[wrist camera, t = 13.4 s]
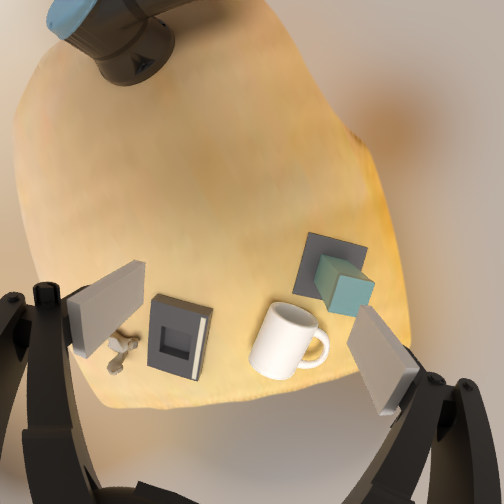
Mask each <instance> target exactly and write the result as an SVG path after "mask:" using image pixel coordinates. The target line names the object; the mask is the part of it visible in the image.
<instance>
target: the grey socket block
mask: <svg viewBox="0 0 504 504" xmlns="http://www.w3.org/2000/svg"><path fill="white" fill-rule="evenodd" d="M212 312H213V309H211V308H207V307H204V306H200V305H196V304H192V303H189V302H185V301H182V300H178V299H174V298H171V297H168V296H164V295H161V294H157V295H156V296H155V297H154V298H153V299H152V300H151V309H150V322H149V337H148V359H147V366H150V367H153V368H156V369H159V370H162V371H165V372H168V373H171V374H174V375H177V376H181V377H184V378H187V379H191V380H194V381H198V380H199V377H200V375H201V372H202V367H203V361H204V355H205V350H206V344H207V338H208V333H209V328H210V322H211V317H212Z"/></svg>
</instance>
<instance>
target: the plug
mask: <svg viewBox="0 0 504 504" xmlns="http://www.w3.org/2000/svg"><path fill="white" fill-rule="evenodd" d="M314 283H315V285H316V287H317V289H318V291H319V293H320V295H321V297H322V299H323V301H324V303H325V305H326V307H327V310H328V312H332V313H337V314H342V315H347V316H352V317H357V314H358V311H359V308H360V305H368V302H369V299H370V297H371V294H372V291H373V288H374V285H375V282H373V281H372V280H370V279H369V278H368V277H367V276H366V275H364V274H363V273H362V272H361V271H360V270H358V269H357V268H356V267H355V266H354V265H353V264H351V263H350V262H349V261H348V260H344V259H340V258H336V257H332V256H328V255H324V254H321V257H320V261H319V264H318V268H317V271H316V275H315V278H314Z"/></svg>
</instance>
